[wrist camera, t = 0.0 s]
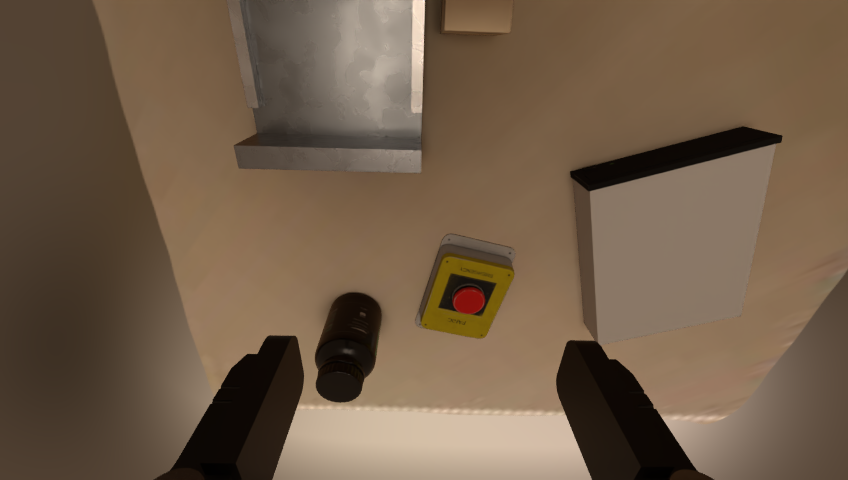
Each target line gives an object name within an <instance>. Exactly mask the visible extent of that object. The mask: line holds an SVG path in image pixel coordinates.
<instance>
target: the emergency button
mask: <svg viewBox="0 0 848 480" xmlns="http://www.w3.org/2000/svg"><path fill="white" fill-rule="evenodd" d="M514 258H515V251H514V249H513V248H511V247H507V246H503V245H499V244H494V243H490V242H486V241H482V240H477V239H473V238H469V237H465V236H461V235H456V234H447V235H446V236H444V238H443V239H442V242H441V245H440V248H439V251H438V254H437V257H436V260H435V263H434V266H433V269H432V272H431V275H430V278H429V281H428V284H427V287H426V290H425V293H424V296H423V299H422V302H421V305H420V308H419V311H418V314H417V317H416V325H417V326H418V327H420V328H425V329H430V330H435V331H441V332H446V333H451V334H456V335H461V336H466V337H472V338H477V339H482V338H484V337H485V336H486V335H487V333H488V331H489V329H490V327H491V325H492V323H493V320H494V318H495V316H496V314H497V312H498V310H499V308H500V306H501V303H502V301H503V299H504V297H505V295H506V293H507V291H508V289H509V286H510V284H511V282H512V280H513V278H514V270H513V267H512V262H513V260H514Z"/></svg>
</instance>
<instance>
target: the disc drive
mask: <svg viewBox="0 0 848 480" xmlns="http://www.w3.org/2000/svg"><path fill="white" fill-rule="evenodd" d="M781 141H782V135H777V134H773V133H769V132H765V131H760V130H756V129H752V128H748V127H739V128H735V129H732V130H728V131H724V132H720V133H716V134H712V135H709V136H705V137H701V138H697V139H693V140H689V141H686V142H682V143H678V144H674V145H670V146H666V147H663V148H659V149H655V150H651V151H647V152H644V153H640V154H636V155H632V156H628V157H624V158H621V159H617V160H613V161H609V162H605V163H601V164H598V165H594V166H590V167H586V168H582V169H578V170H575V171H570V174H571V178H573V187H574V199H575V212H576V225H577V238H578V251H579V264H580V277H581V290H582V303H583V316H584V324H585V325H586V327H587V328H588V330H589V332H590V333H591V335H592V337H593V338H594V340H595V341H596V342H598V343H599V344H600V345H604V344H609V343H613V342H618V341H623V340H628V339H633V338H637V337H642V336H647V335H652V334H657V333H661V332H666V331H671V330H676V329H681V328H686V327H690V326H695V325H700V324H705V323H710V322H714V321H719V320H724V319H729V318H734V317H738V316H741V314H742V309H743V304H744V300H745V295H746V290H747V285H748V280H749V275H750V270H751V265H752V260H753V255H754V250H755V245H756V240H757V235H758V230H759V226H760V221H761V216H762V211H763V206H764V201H765V196H766V191H767V186H768V181H769V176H770V171H771V166H772V161H773V157H774V152H775V147H776V144H777V143H781Z"/></svg>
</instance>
